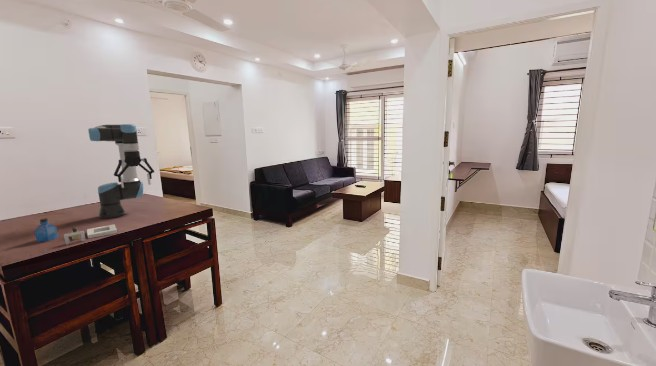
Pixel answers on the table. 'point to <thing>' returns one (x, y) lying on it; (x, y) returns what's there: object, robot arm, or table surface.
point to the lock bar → (75, 235)
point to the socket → (101, 231)
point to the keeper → (72, 235)
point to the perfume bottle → (45, 231)
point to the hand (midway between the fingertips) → (136, 185)
